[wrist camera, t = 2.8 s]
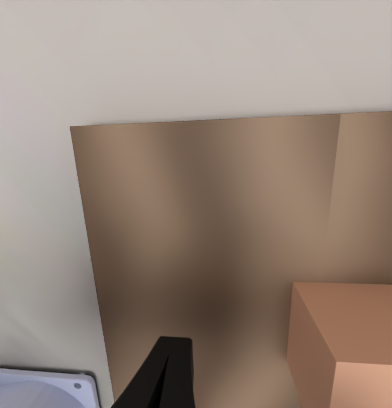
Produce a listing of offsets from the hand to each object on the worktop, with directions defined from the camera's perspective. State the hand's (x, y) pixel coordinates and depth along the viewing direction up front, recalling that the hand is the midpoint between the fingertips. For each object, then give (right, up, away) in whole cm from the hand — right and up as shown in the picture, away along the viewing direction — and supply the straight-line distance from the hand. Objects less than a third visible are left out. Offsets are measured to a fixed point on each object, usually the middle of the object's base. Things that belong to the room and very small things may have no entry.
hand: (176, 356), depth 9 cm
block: (+8, +1, +1) cm, 8 cm away
